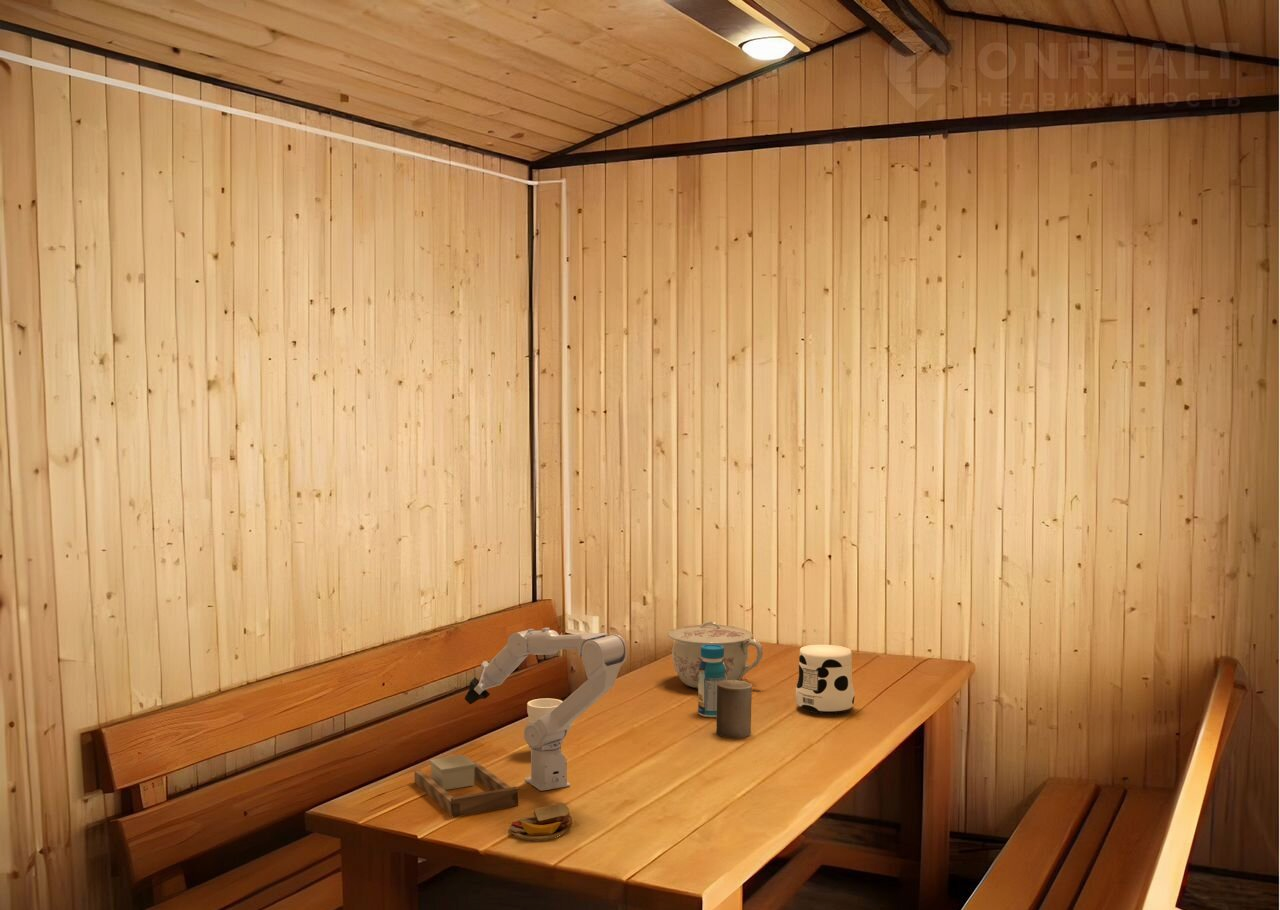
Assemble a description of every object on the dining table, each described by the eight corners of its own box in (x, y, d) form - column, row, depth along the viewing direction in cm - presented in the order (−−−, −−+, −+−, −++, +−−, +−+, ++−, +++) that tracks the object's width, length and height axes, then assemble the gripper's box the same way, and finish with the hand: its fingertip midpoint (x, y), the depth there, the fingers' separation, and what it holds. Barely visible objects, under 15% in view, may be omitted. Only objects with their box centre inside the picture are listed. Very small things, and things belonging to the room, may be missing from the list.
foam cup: (568, 748, 313) (568, 699, 312) (556, 759, 304) (556, 709, 303) (534, 745, 315) (534, 697, 314) (522, 755, 306) (521, 706, 305)
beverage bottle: (716, 719, 341) (716, 650, 339) (691, 714, 346) (692, 646, 345) (732, 713, 347) (732, 645, 346) (708, 708, 352) (708, 642, 351)
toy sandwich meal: (509, 822, 259) (508, 801, 259) (570, 820, 261) (570, 799, 261) (509, 844, 247) (509, 822, 247) (574, 841, 249) (574, 819, 248)
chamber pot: (652, 680, 387) (653, 617, 386) (726, 671, 399) (726, 610, 398) (692, 700, 362) (692, 633, 361) (769, 691, 374) (770, 625, 372)
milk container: (852, 703, 359) (852, 644, 358) (856, 718, 342) (857, 657, 341) (794, 701, 361) (795, 643, 360) (796, 717, 344) (796, 655, 343)
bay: (518, 805, 269) (518, 788, 269) (453, 817, 262) (453, 799, 262) (475, 772, 292) (475, 756, 292) (414, 782, 285) (414, 766, 285)
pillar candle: (710, 734, 325) (711, 681, 324) (724, 725, 334) (725, 673, 333) (743, 740, 321) (744, 685, 320) (756, 731, 330) (757, 678, 329)
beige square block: (476, 785, 283) (475, 764, 282) (441, 791, 278) (441, 769, 278) (463, 775, 290) (462, 754, 290) (429, 780, 286) (429, 759, 286)
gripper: (506, 638, 299) (478, 668, 306) (478, 666, 286) (449, 696, 293) (526, 658, 299) (497, 687, 305) (499, 686, 286) (469, 716, 293)
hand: (475, 693), depth 299 cm, fingers open, 7 cm apart
